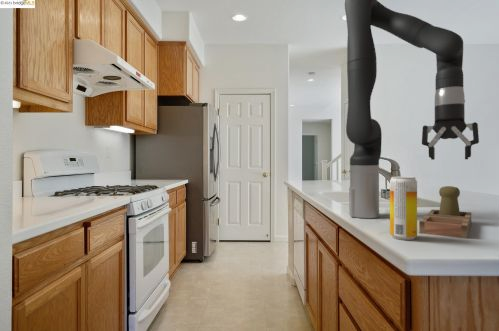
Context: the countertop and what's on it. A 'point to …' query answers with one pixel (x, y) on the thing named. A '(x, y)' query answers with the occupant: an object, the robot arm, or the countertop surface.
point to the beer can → (403, 207)
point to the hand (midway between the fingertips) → (449, 159)
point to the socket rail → (446, 224)
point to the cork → (449, 201)
